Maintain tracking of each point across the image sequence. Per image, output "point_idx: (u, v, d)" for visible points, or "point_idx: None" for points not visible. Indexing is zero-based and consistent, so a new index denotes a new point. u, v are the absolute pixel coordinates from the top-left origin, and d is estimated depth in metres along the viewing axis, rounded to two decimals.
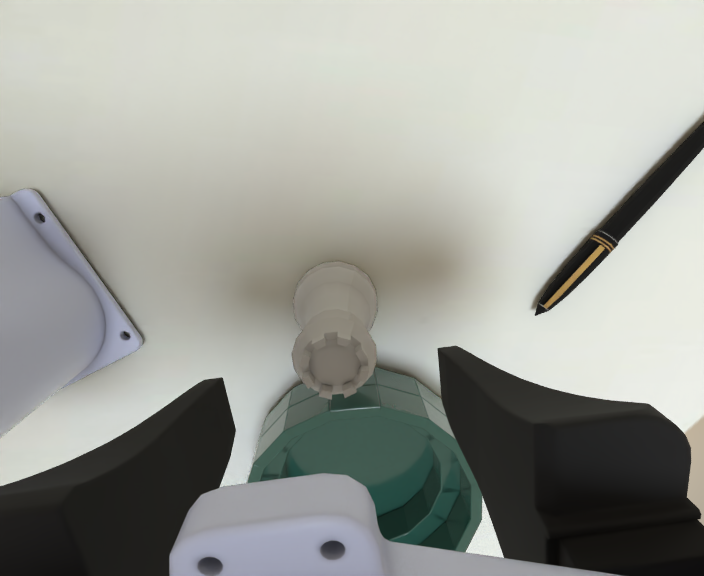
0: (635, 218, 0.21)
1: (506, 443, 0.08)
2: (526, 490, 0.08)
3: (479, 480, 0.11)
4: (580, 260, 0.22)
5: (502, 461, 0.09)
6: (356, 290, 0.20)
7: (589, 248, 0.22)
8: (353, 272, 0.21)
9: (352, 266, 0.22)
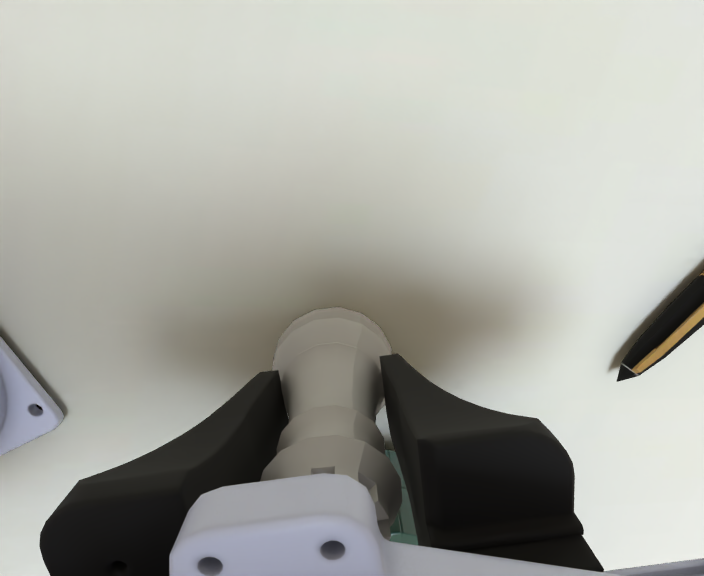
0: None
1: (411, 456, 0.08)
2: (421, 504, 0.08)
3: (408, 489, 0.11)
4: (689, 307, 0.15)
5: (412, 473, 0.09)
6: (364, 356, 0.14)
7: (703, 289, 0.15)
8: (359, 326, 0.14)
9: (357, 314, 0.15)
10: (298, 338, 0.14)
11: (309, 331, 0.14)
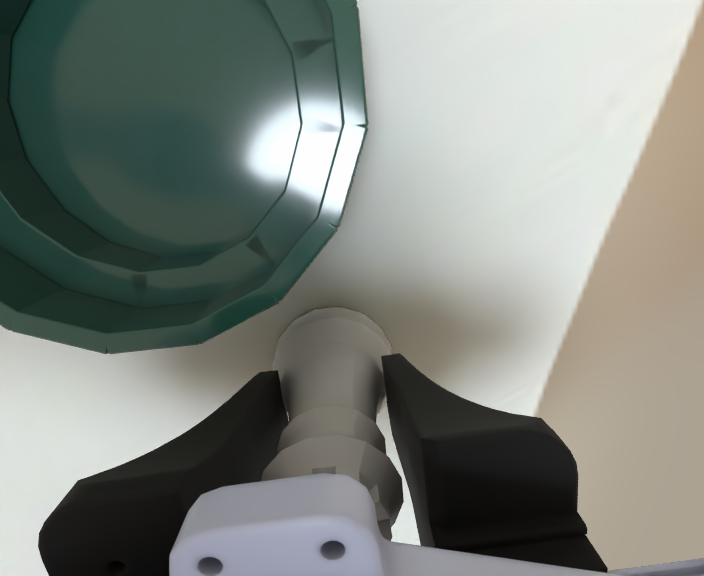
0: None
1: (414, 455, 0.08)
2: (424, 504, 0.08)
3: (410, 489, 0.11)
4: None
5: (415, 473, 0.09)
6: (364, 355, 0.14)
7: None
8: (360, 326, 0.14)
9: (358, 314, 0.15)
10: (298, 338, 0.14)
11: (309, 331, 0.14)
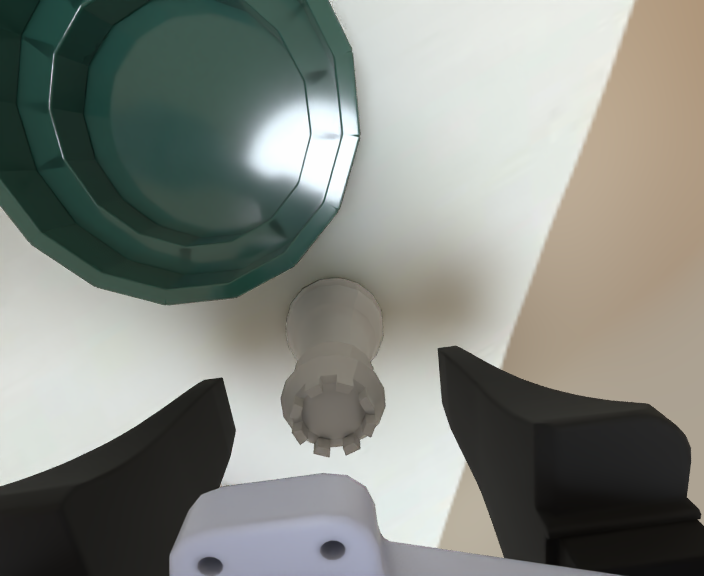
0: None
1: (506, 443, 0.08)
2: (526, 490, 0.08)
3: (479, 480, 0.11)
4: None
5: (502, 461, 0.09)
6: (359, 313, 0.17)
7: None
8: (355, 291, 0.18)
9: (354, 284, 0.19)
10: (307, 300, 0.18)
11: (316, 295, 0.18)
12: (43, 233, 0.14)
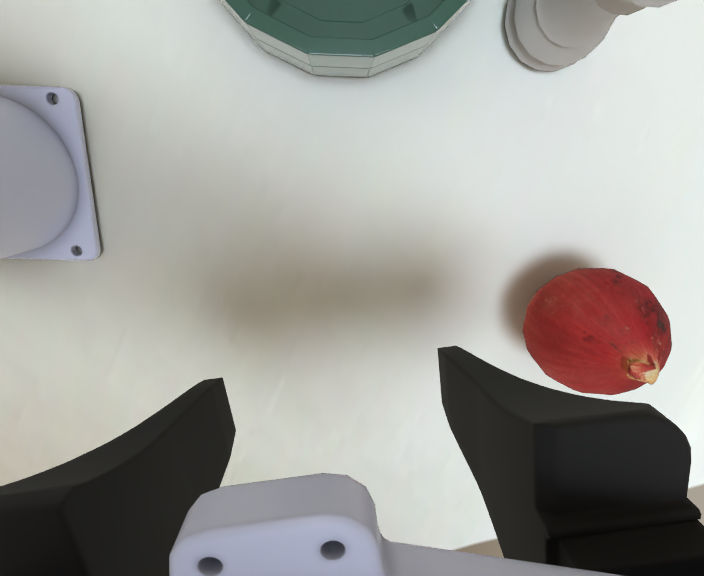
0: None
1: (506, 443, 0.08)
2: (526, 490, 0.08)
3: (479, 480, 0.11)
4: None
5: (502, 461, 0.09)
6: None
7: None
8: None
9: None
10: None
11: None
12: (312, 38, 0.15)
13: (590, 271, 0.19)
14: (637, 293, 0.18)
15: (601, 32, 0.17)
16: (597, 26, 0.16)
